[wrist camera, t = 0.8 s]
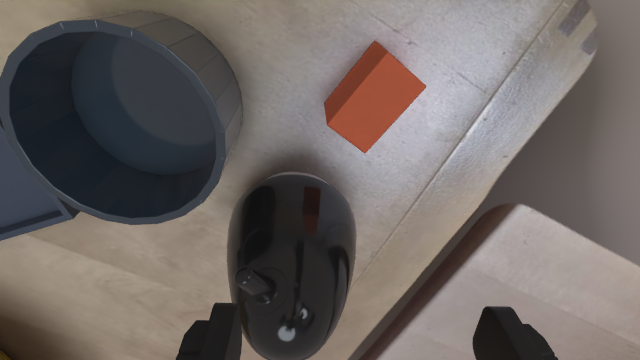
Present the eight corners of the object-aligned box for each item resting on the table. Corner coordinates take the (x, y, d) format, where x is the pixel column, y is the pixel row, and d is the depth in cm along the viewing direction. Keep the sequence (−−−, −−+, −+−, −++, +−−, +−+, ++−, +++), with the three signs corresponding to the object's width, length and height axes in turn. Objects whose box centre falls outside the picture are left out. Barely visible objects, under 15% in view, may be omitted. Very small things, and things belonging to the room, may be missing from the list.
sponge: (323, 103, 29) (326, 125, 25) (374, 39, 27) (387, 51, 22) (357, 128, 30) (365, 154, 26) (408, 70, 28) (427, 86, 24)
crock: (41, 118, 29) (-31, 155, 23) (111, -35, 24) (44, -40, 18) (191, 203, 33) (164, 254, 27) (276, 88, 28) (267, 117, 22)
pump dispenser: (322, 133, 30) (332, 255, 17) (366, 226, 35) (402, 379, 22) (215, 179, 32) (148, 322, 19) (271, 262, 37) (249, 423, 23)
